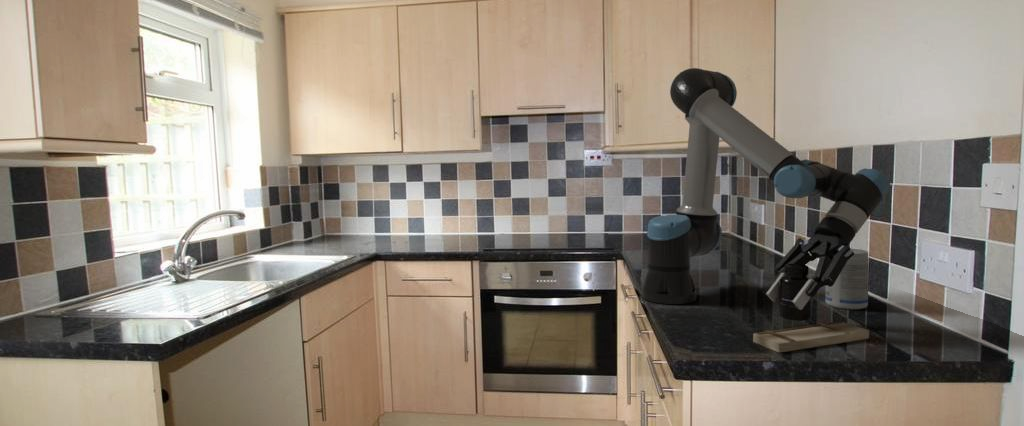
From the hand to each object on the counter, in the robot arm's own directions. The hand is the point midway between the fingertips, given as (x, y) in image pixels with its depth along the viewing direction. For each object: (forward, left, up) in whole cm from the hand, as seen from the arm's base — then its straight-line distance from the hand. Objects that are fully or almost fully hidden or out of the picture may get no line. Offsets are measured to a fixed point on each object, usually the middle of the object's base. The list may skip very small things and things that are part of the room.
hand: (783, 301), depth 117 cm
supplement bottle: (0, +4, -4) cm, 6 cm away
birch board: (+7, 0, -7) cm, 10 cm away
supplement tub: (-11, +31, -7) cm, 34 cm away
